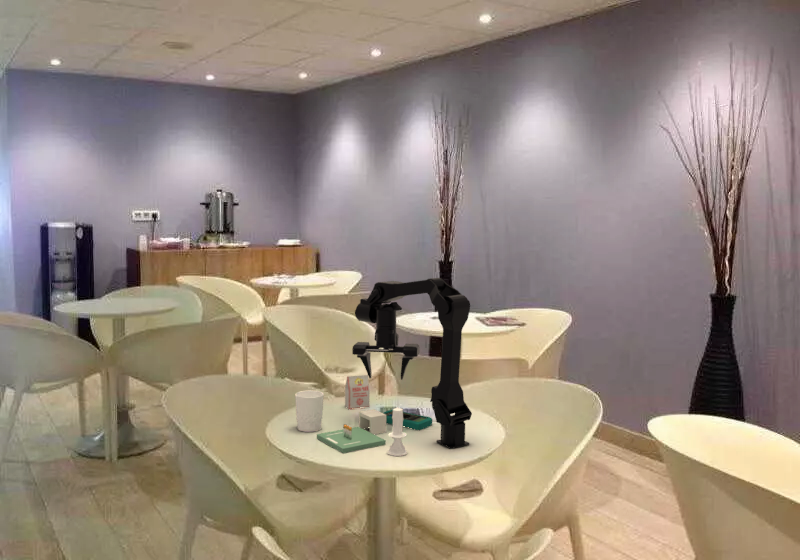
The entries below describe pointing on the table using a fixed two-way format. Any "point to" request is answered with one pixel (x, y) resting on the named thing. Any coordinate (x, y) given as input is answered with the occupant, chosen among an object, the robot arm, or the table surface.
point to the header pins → (347, 432)
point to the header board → (358, 441)
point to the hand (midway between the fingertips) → (386, 378)
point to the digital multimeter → (411, 420)
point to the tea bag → (357, 391)
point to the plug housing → (373, 421)
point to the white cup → (309, 410)
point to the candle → (397, 434)
